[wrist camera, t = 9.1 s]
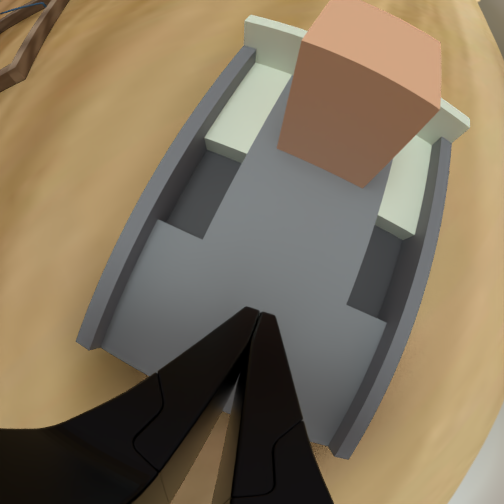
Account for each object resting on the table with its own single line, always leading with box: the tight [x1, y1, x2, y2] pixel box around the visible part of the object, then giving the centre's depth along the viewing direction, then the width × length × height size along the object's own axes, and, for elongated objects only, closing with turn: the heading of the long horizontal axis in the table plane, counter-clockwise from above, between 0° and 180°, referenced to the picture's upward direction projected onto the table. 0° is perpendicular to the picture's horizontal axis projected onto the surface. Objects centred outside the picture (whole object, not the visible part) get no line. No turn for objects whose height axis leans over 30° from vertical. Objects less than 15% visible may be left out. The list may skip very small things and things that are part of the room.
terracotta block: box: [277, 0, 441, 189], centre depth 14 cm, size 6×6×9 cm
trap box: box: [76, 15, 470, 460], centre depth 16 cm, size 24×17×6 cm
